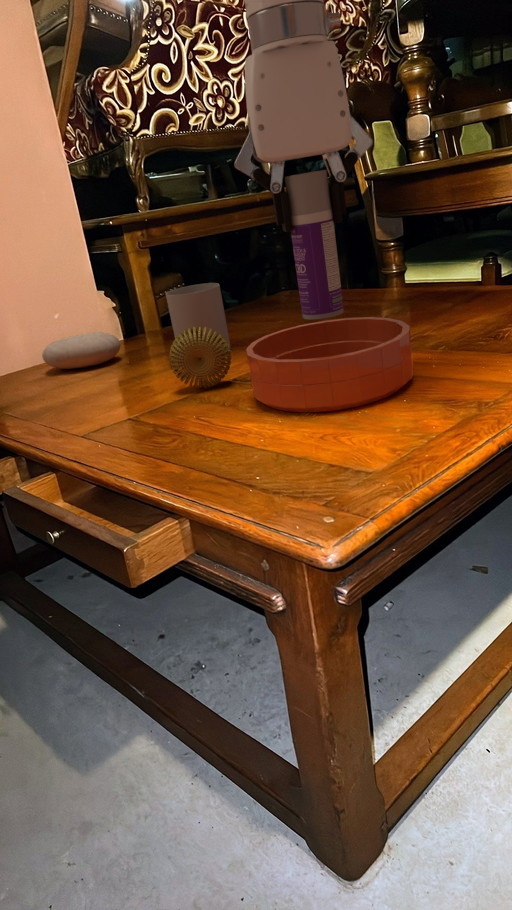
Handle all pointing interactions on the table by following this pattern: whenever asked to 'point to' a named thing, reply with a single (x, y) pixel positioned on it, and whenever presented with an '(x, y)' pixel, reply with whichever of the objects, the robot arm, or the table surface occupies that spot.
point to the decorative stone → (81, 350)
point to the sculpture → (200, 357)
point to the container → (314, 245)
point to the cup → (198, 309)
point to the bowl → (331, 364)
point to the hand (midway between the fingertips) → (311, 224)
